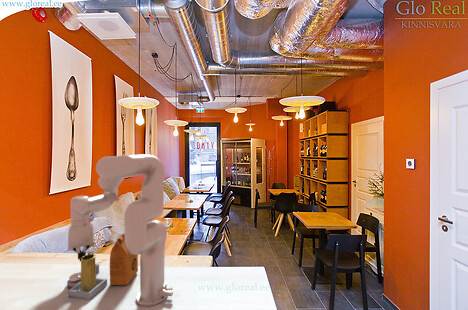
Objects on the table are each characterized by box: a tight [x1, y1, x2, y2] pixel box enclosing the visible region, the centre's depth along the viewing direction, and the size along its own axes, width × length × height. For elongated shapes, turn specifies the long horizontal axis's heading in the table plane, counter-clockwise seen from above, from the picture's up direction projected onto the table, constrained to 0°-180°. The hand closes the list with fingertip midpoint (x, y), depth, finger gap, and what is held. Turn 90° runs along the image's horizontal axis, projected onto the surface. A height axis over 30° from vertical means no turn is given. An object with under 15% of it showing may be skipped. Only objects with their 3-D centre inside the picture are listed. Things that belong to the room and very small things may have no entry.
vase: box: [80, 253, 97, 292], centre depth 96 cm, size 6×6×14 cm
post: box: [95, 263, 100, 275], centre depth 110 cm, size 2×2×4 cm
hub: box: [66, 279, 81, 290], centre depth 101 cm, size 7×7×2 cm
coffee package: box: [109, 232, 139, 286], centre depth 105 cm, size 10×12×22 cm
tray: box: [67, 277, 108, 301], centre depth 96 cm, size 10×10×3 cm
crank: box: [68, 251, 94, 283], centre depth 104 cm, size 12×6×8 cm, turn 171°
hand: (81, 260), depth 107 cm, fingers closed
